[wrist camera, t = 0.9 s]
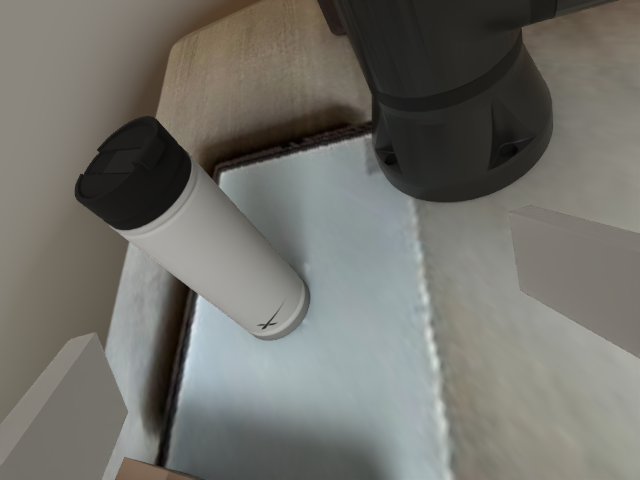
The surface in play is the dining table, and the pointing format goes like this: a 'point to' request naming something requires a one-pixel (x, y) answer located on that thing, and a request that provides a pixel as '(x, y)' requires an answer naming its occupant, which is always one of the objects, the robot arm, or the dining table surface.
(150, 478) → the walnut box
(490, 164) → the robot arm
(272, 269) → the travel mug
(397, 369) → the dining table surface
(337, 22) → the decorative book
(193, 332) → the dining table surface
